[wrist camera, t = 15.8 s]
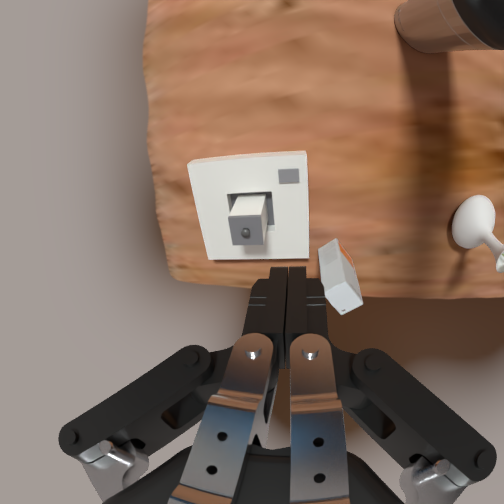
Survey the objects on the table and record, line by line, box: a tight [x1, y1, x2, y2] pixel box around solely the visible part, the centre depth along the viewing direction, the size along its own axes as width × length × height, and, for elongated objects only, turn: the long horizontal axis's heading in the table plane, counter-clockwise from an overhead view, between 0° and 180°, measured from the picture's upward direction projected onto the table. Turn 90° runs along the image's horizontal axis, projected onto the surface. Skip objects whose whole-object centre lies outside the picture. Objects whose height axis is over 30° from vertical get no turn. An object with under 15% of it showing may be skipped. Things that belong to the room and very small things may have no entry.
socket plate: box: [187, 151, 309, 260], centre depth 44 cm, size 18×18×3 cm
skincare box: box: [318, 238, 363, 315], centre depth 43 cm, size 6×4×12 cm
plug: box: [228, 194, 268, 245], centre depth 41 cm, size 4×4×9 cm
